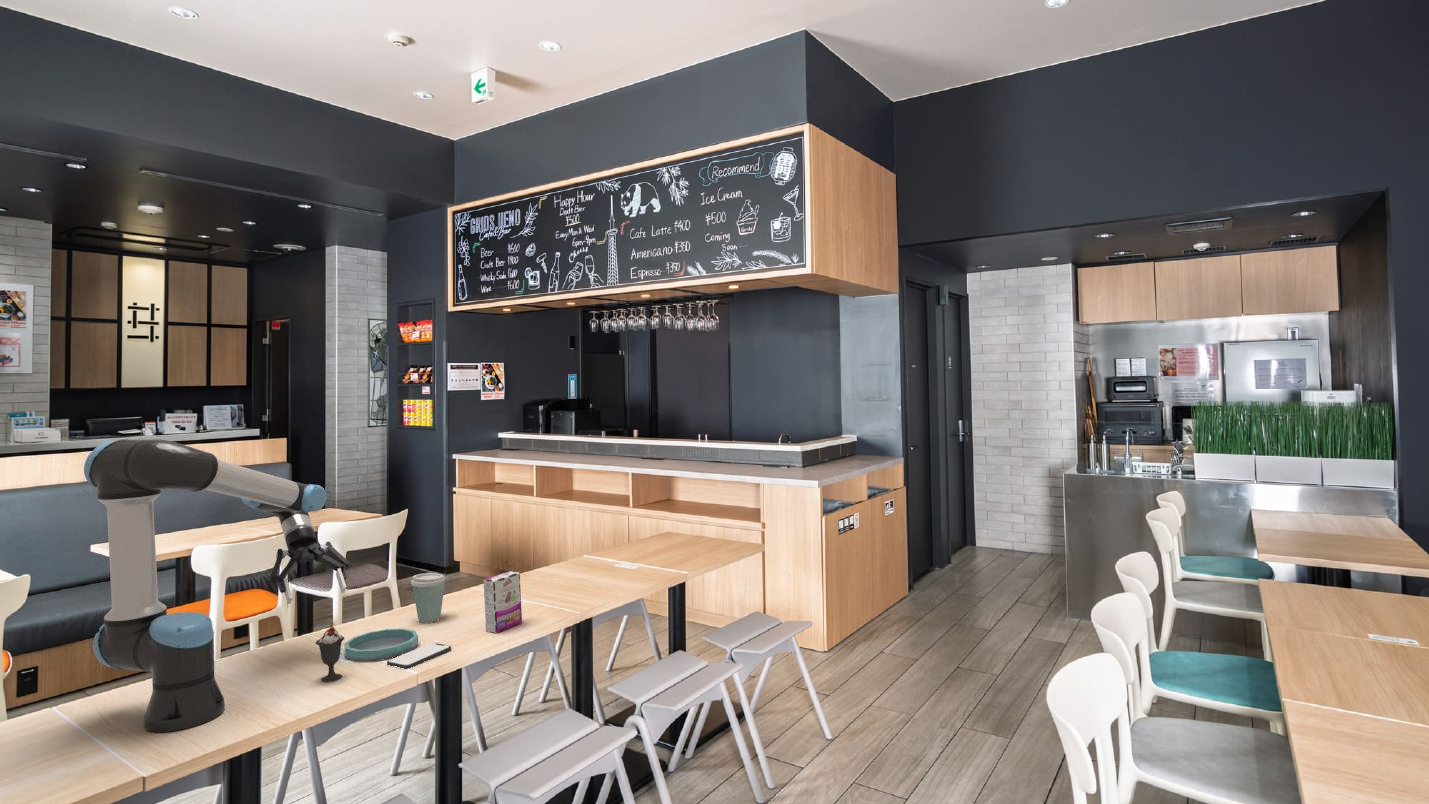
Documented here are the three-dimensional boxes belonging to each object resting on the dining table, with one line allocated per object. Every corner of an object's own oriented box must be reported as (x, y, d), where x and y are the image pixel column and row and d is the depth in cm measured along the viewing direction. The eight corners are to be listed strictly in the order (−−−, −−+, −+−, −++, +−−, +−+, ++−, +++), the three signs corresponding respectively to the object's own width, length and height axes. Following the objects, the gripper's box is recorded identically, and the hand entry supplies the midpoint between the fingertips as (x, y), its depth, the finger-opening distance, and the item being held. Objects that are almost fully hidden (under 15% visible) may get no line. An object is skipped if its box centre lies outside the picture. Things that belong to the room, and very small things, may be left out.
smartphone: (407, 672, 196) (453, 651, 210) (406, 666, 196) (453, 645, 210) (384, 667, 200) (431, 647, 214) (384, 661, 200) (431, 641, 214)
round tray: (373, 666, 199) (373, 655, 199) (330, 655, 208) (330, 645, 208) (431, 644, 215) (431, 634, 215) (389, 635, 225) (389, 625, 225)
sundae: (334, 684, 187) (332, 625, 187) (311, 682, 188) (309, 624, 188) (351, 674, 194) (349, 617, 193) (329, 672, 195) (327, 616, 195)
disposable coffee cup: (438, 613, 246) (437, 569, 246) (452, 620, 238) (451, 574, 238) (406, 621, 239) (405, 575, 238) (420, 628, 231) (418, 580, 231)
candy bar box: (511, 621, 235) (509, 570, 235) (522, 623, 233) (520, 572, 233) (484, 631, 226) (482, 578, 225) (496, 634, 223) (494, 580, 223)
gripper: (342, 535, 222) (362, 593, 211) (247, 549, 204) (263, 613, 194) (348, 519, 218) (368, 578, 207) (251, 533, 200) (268, 597, 190)
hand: (317, 595), depth 201 cm, fingers open, 13 cm apart
